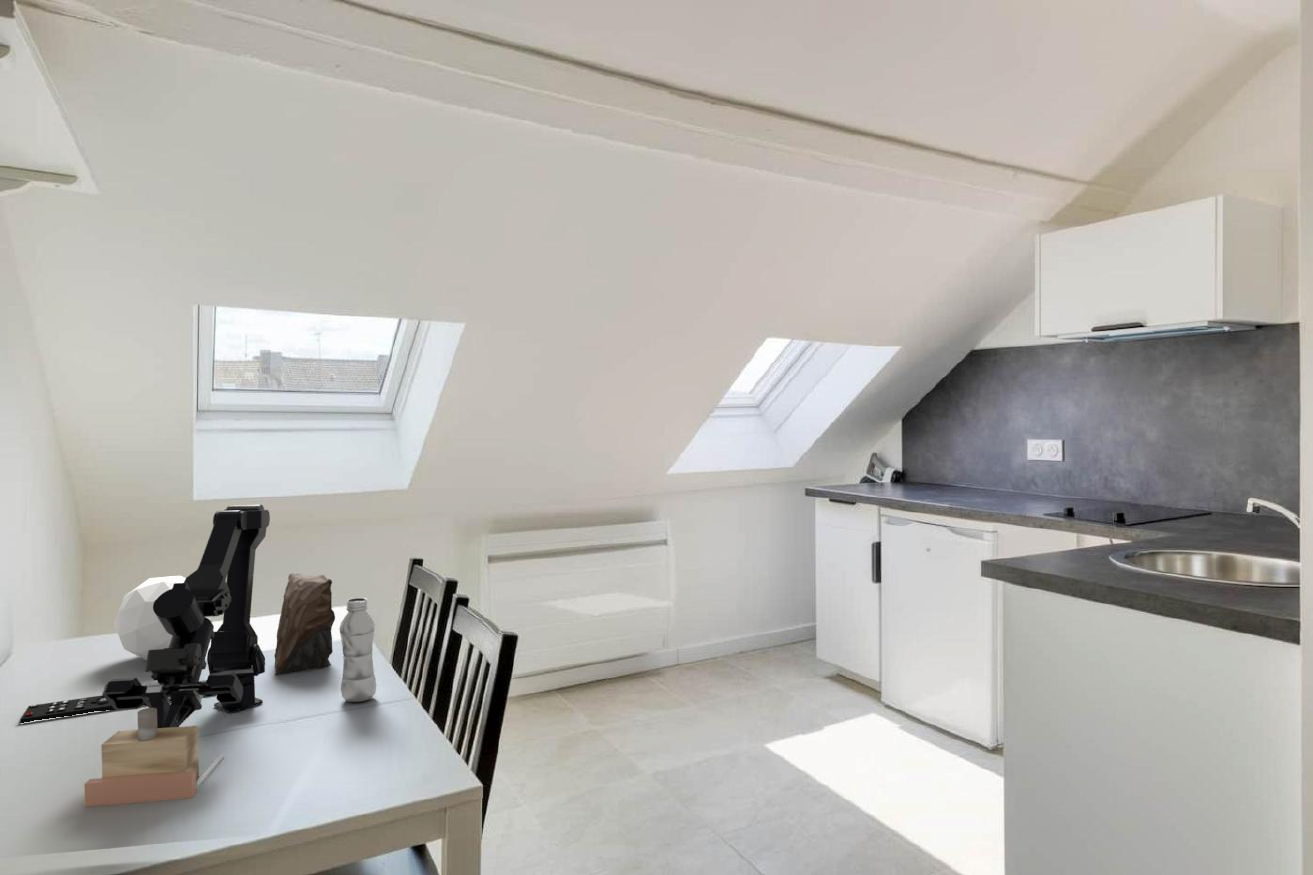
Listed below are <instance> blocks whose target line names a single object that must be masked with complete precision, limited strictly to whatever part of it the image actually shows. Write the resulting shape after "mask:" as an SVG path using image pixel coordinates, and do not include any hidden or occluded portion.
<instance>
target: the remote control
mask: <svg viewBox="0 0 1313 875" xmlns="http://www.w3.org/2000/svg"><path fill="white" fill-rule="evenodd" d="M199 682H207V680H199ZM212 696H217V694H208V695H204V696H203V697H202V698H204V697H212ZM170 701H171V698H170V700H169V703H171V702H170ZM144 705H146V706H147V704H146V703H145V702H144ZM106 710H114V711H117V710H116V709H114V708H113V707H112V706H111V704H110V703H109V702H108V701H107V700H106V698H105V697H104V696H103V695H102V694H101V695H94V696H87V697H82V698H74V699H67V700H66V699H65V700H60V701H54V702H53V701H52V702H45V703H40V704H39V703H37V704H36V703H35V704H32V705H28V707H27V708H26V709H25V711H24V712H23V714H22V716H21V717H20V719H19V722H20V723H24V722H30V721H34V720H42V719H49V718H56V717H64V716H72V715H76V714H83V713H88V712H94V711H106Z"/></svg>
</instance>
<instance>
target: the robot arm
mask: <svg viewBox="0 0 1313 875" xmlns="http://www.w3.org/2000/svg"><path fill="white" fill-rule="evenodd" d="M270 521H271V516H270V511H269V509H265V507H264V505H263V504H234V505H233V504H232V505H231V504H229V505H228V506H227V507H226V509H224V510H219V511H216V512H214V515H213V518H212V529H211V532H210V535H209V538H208V540H207V543H206V546H205V548H204V550H203V554H202V556H201V559H200V562H199V565H198V567H197V568H196V570H195V571H193V572H192V573H191V574H189V575H188V576H186V577H185V578H186V579H185V581H184V583H174V585H173V588H172V589H170V590H168V591H166V592H164V593H162V594H161V595H160V596H159V597H158V598H157V599H156V600H155V601H154V604H153V611H154V612H155V614H156V616H157V617H158V619H159V621H160V622H161V624H162V625H163V627H164V629H165V630H166V632H167V633H169V634H171V635H172V638H171V641H170V644H169V647H168V648H164V649H157V650H149V651H148V655H147V660H145V661H146V662H145V666H144V667H145V669H144V672H145V673H148V672H149V673H151V676H150V678H151V679H152V681H157V682H154V683H153V682H152V683H150V682H148V683H147V684H145V685H143V684H142V683H141V682H140V680H138V677H124V678H123V677H121V678H118V677H117V678H112V679H110V680H109V681H108V682H107V683H106V684H105V686H104V689H103V691H102V694H101V695H103V696H104V697H105V698H106V700H107V701H108V702H109V703H110V704H111V706H112V707H113V708H114V709H116V710H115V711H128V710H131V711H132V710H138V709H140V708H141V707H143V706H142V705H144V702H145V703H146V704H147V705H146V706H147V708H156V709H157V728H171V727H181V725H182V724H183V723H184V722H185V721H186V720H187V719H188V718H189V717H191V715H192V714H193V713H194V712H195V711H200V710H201V709H203V708H202V707H203V704H202V699H203V698H204V697H203V696H204V695H208V694H217V695H216V697H215V698H216V700H217V701H218V702H215V703H214V704H213V706H214V707H215V708H216V709H219V710H223V711H225V712H227V713H230V714H231V713H235V712H238V711H241V710H242V711H243V710H244V709H247V708H252V707H254V706H258V705H261V704H263V703H264V701H263V699H261V698H258V697H256V684H255V683H256V682H255V677H258V676H259V675H261V674H264V673H265V672H266V668H265V667H266V657H265V656H264V653H263V651H262V649H261V647H260V645H259V643H258V640H259V637H258V635H257V633H256V632H255V630H254V627H252V624H251V613H252V601H253V600H252V599H253V598H252V596H253V587H254V586H253V584H254V574H255V562H256V550H257V549H258V547H259V546H260V544H261V543H262V542H263V540H265V538H266V534H267V528H268V527H269V526H270ZM222 615H223V617H222V618H223V619H222V624H221V625H220V626H219V628H218V629H217V630H216V631H214V630H215V629H214V628H215V627H214V624H213V621H212V622H211V621H210V620H209V619H207V618H205V617H211V616H214V617H220V616H222ZM206 661H207V662H206ZM206 667H207V668H208V673H209V674H208V675H207V682H199V681H200V678H201V675H202V671H203V670H206ZM170 698H171V702H169V700H170Z"/></svg>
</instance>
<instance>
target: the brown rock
mask: <svg viewBox="0 0 1313 875" xmlns="http://www.w3.org/2000/svg"><path fill="white" fill-rule="evenodd" d="M332 583H333V581H332V579H330V578H327V577H326V576H325V575H324V574H318V575H317V576H316V575H301V573H290V574H289V575H288V581H287V584H286V586H285V590H284V594H283V601H282V605H281V610H280V617H279V621H278V627H277V632H276V647H275V653H274V676H275V677H276V676H282V675H287V674H294V673H299V672H307V671H311V670H319V669H325V668H327V667H331V666H332V664H331V662H330V659H329V658H330V657H331V655H332V654H333V651H334V650H333V634H332V629H333V628H332V627H333V625H334V623H335V620H336V613H335V611H334V610H333V609H332V608H333V606H332V599H333V597H332V594H333V593H332Z"/></svg>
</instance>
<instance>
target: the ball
mask: <svg viewBox="0 0 1313 875" xmlns="http://www.w3.org/2000/svg"><path fill="white" fill-rule="evenodd" d="M186 578H187V577H184V576H182V575H171V576H162V577H161V576H160V577H149V578H148V579H146V580H145V581H144V582H141V584H139V585H137V587H135V588H134V589H132V590H131V591H129V592H127V593H126V594H125V595H124V596H123V598H122V601H121V603H120V606H119V609H118V612H117V614H116V617H115V620H114V622H113V625H114V627H115V630H116V632H117V635H118V638H119V640H120V642H121V645H122V647H123V649H124V650H125V651H127V652H129V653H131V654H133V655H136V656H137V657H139V658H141V659H143V660H145V661H147V655H148V651H149V650H157V649H164V648H168V647H169V644H170V641H171V638H172V635H171V634H169V633H167V632H166V630H165V629H164V627H163V625H162V624H161V622H160V621H159V619H158V617H157V616H156V614H155V612H154V611H153V604H154V601H155V600H156V599H157V598H158V597H159V596H160V595H161V594H162V593H164V592H166V591H168V590H170V589H172V588H173V585H174V583H184V581H185V579H186ZM214 617H215V616H211V617H205V618H207V619H209V620H210V621H211V622H212V623H213V620H214V619H213V618H214Z"/></svg>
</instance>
